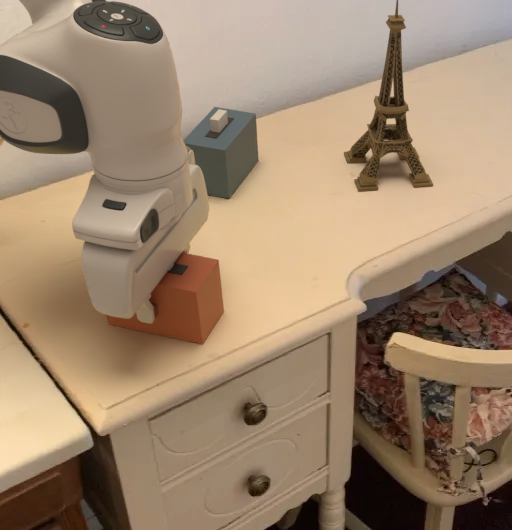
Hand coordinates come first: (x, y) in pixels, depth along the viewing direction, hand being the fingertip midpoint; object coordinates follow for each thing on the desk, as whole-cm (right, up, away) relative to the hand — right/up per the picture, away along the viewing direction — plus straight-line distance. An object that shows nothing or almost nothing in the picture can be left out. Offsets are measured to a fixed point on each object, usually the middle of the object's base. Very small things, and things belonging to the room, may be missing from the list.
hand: (163, 298), depth 90 cm
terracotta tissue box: (0, -2, +2) cm, 3 cm away
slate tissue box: (+2, +20, +24) cm, 32 cm away
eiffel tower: (+24, +21, +28) cm, 43 cm away
